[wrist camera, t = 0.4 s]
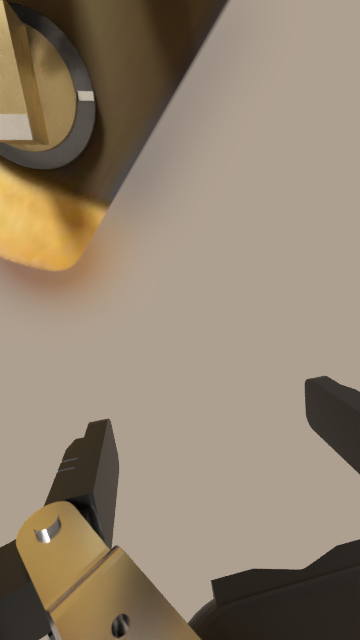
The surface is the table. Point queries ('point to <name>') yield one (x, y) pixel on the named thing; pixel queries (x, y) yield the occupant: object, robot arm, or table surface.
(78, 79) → the base
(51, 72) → the knob
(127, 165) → the table surface
